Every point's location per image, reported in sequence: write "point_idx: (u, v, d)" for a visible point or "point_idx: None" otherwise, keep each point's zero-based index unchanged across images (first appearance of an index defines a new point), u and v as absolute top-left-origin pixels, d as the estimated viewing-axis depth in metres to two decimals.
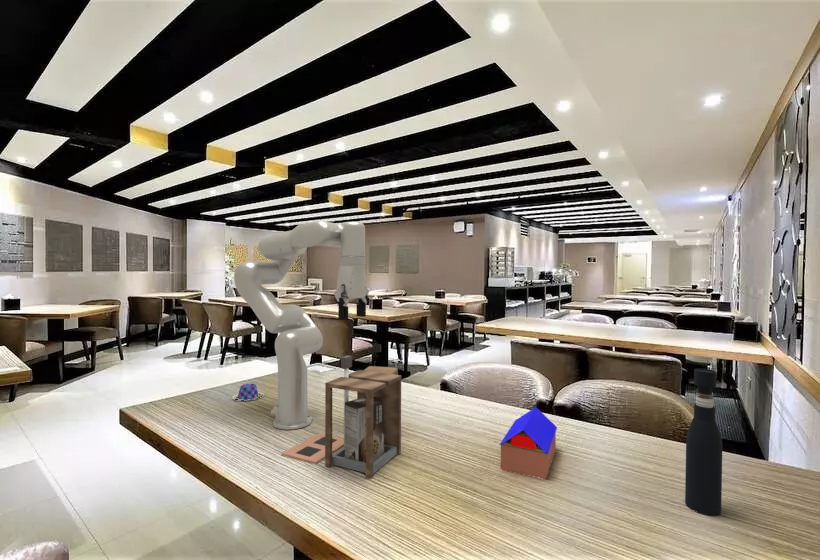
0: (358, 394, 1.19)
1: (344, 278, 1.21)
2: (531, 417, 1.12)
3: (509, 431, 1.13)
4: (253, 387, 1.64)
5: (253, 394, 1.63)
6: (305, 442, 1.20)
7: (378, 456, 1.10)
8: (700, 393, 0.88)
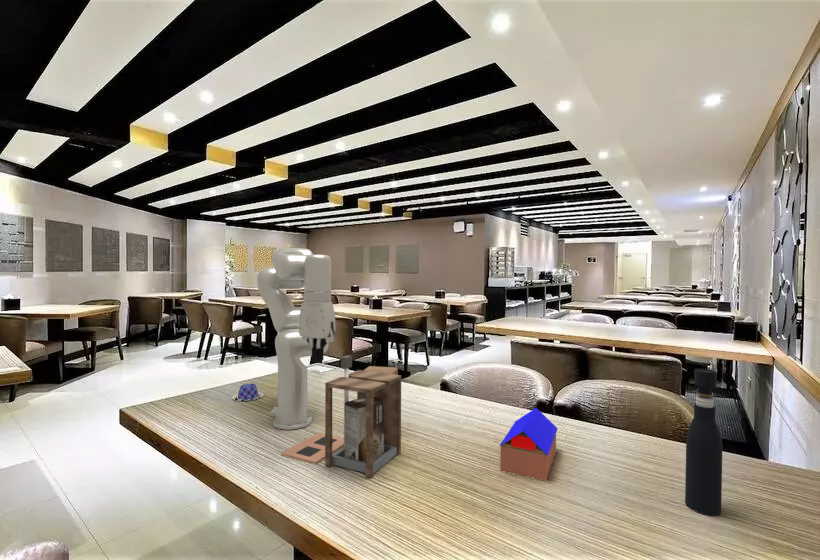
0: (358, 394, 1.19)
1: (332, 315, 1.15)
2: (531, 418, 1.11)
3: (509, 432, 1.12)
4: (253, 387, 1.64)
5: (253, 394, 1.63)
6: (305, 442, 1.20)
7: (378, 456, 1.10)
8: (700, 393, 0.88)
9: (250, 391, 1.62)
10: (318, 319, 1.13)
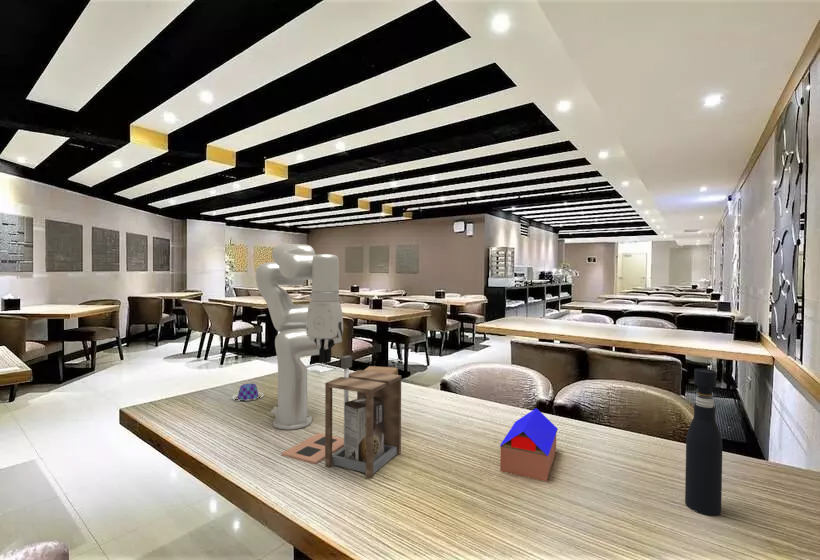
0: (358, 394, 1.19)
1: (340, 315, 1.14)
2: (531, 418, 1.11)
3: (509, 432, 1.12)
4: (252, 387, 1.64)
5: (252, 394, 1.63)
6: (305, 442, 1.20)
7: (378, 456, 1.10)
8: (700, 393, 0.88)
9: (250, 391, 1.62)
10: (326, 319, 1.12)
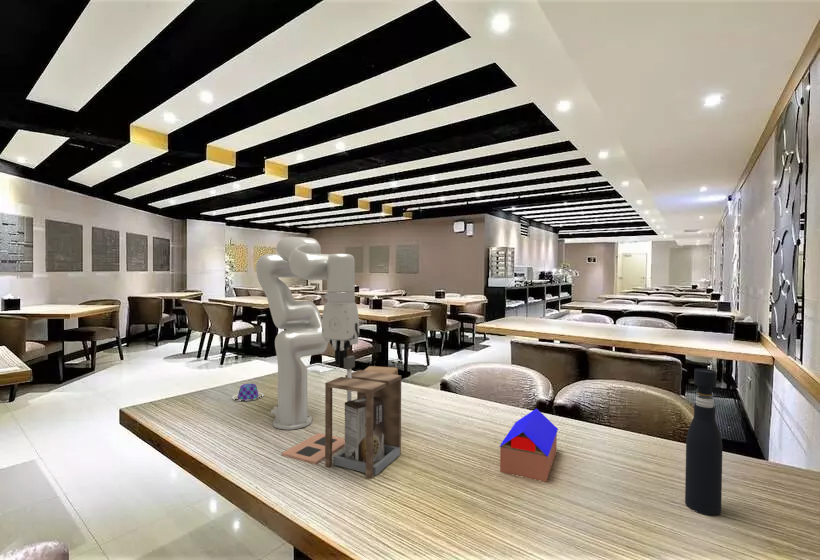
0: (358, 394, 1.19)
1: (356, 316, 1.11)
2: (531, 419, 1.11)
3: (509, 433, 1.11)
4: (252, 387, 1.63)
5: (252, 394, 1.63)
6: (305, 442, 1.20)
7: (378, 456, 1.10)
8: (700, 393, 0.88)
9: (249, 391, 1.62)
10: (342, 320, 1.09)
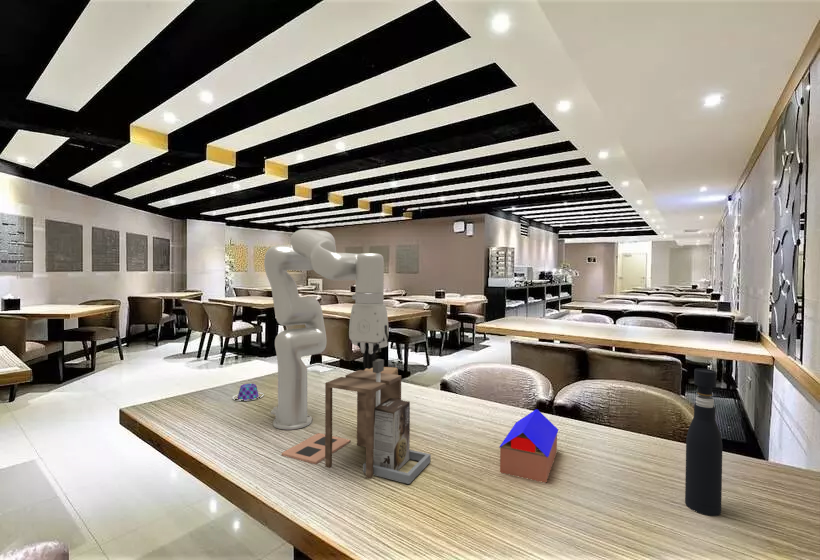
0: (358, 394, 1.19)
1: (385, 318, 1.07)
2: (532, 419, 1.10)
3: (509, 433, 1.11)
4: (252, 387, 1.63)
5: (252, 394, 1.62)
6: (305, 442, 1.20)
7: (406, 458, 1.08)
8: (700, 393, 0.88)
9: (249, 391, 1.62)
10: (371, 322, 1.05)
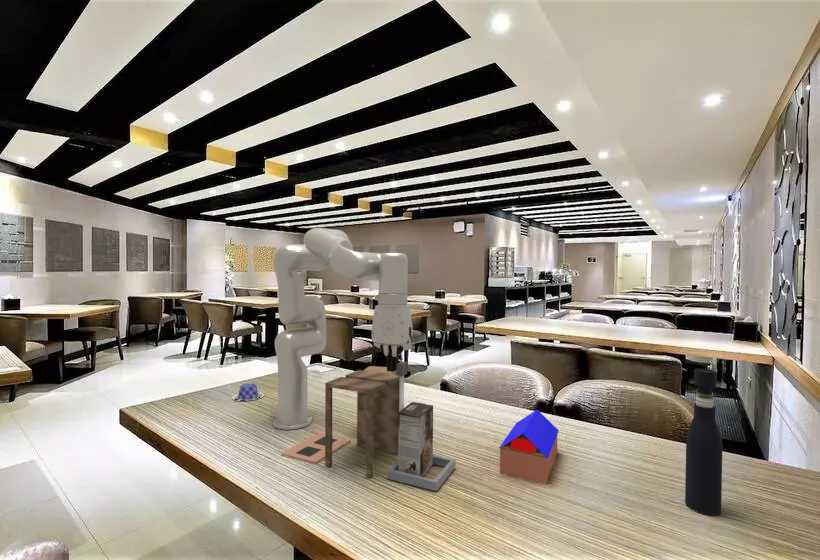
0: (358, 394, 1.19)
1: (410, 320, 1.04)
2: (532, 420, 1.10)
3: (509, 434, 1.11)
4: (252, 387, 1.63)
5: (251, 394, 1.62)
6: (305, 442, 1.20)
7: (430, 464, 1.05)
8: (700, 393, 0.88)
9: (248, 391, 1.62)
10: (396, 324, 1.02)
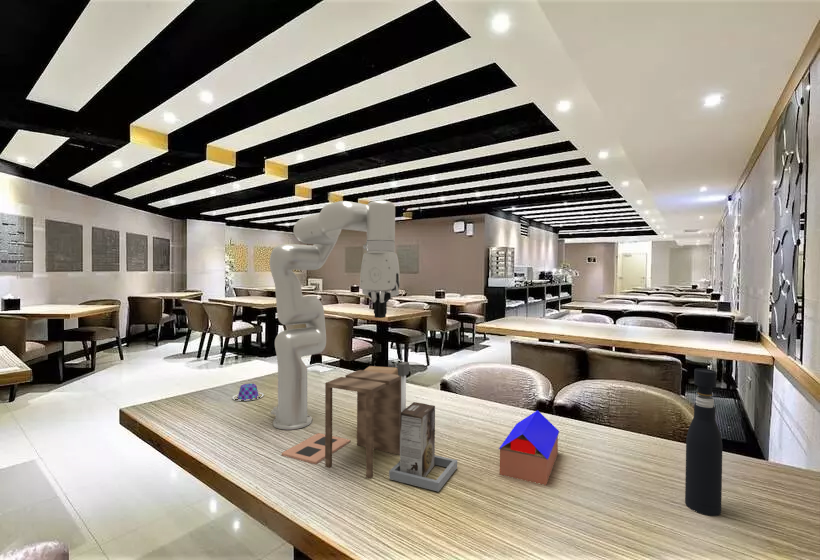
0: (358, 394, 1.19)
1: (397, 266, 1.06)
2: (532, 421, 1.09)
3: (509, 435, 1.10)
4: (251, 387, 1.63)
5: (250, 395, 1.62)
6: (305, 442, 1.20)
7: (432, 464, 1.05)
8: (700, 393, 0.88)
9: (248, 391, 1.62)
10: (383, 270, 1.04)
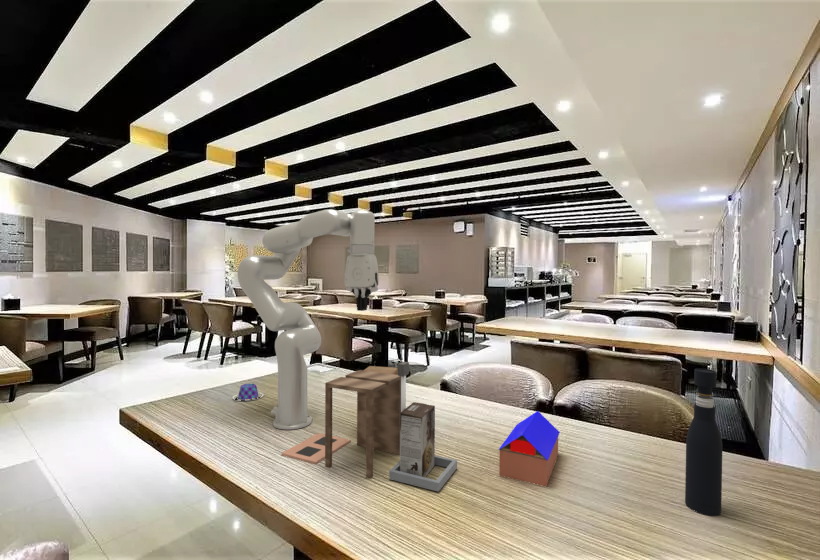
0: (358, 394, 1.19)
1: (376, 267, 1.25)
2: (532, 421, 1.09)
3: (509, 436, 1.09)
4: (251, 388, 1.63)
5: (250, 395, 1.62)
6: (305, 442, 1.20)
7: (432, 464, 1.05)
8: (700, 393, 0.88)
9: (247, 391, 1.62)
10: (364, 270, 1.23)
